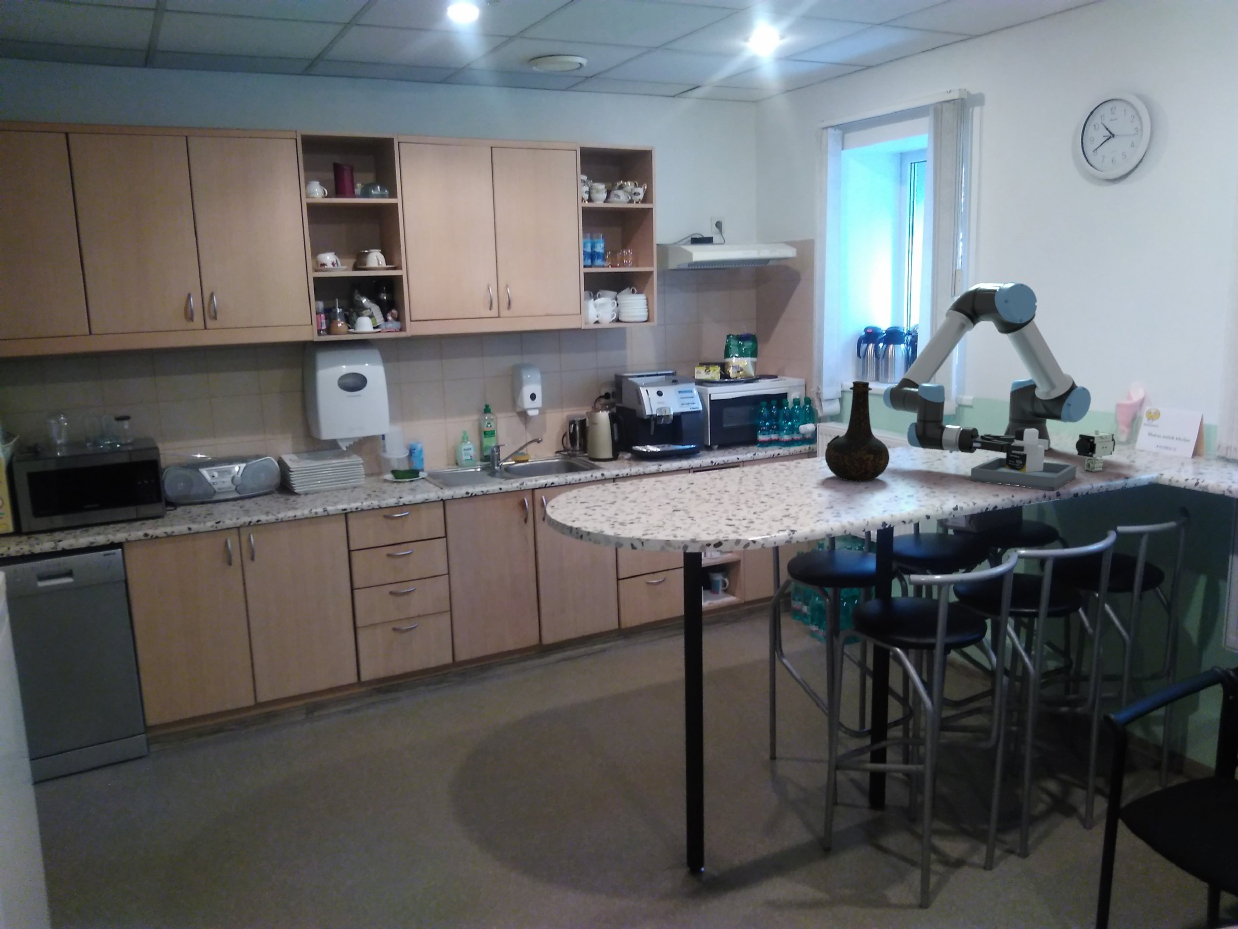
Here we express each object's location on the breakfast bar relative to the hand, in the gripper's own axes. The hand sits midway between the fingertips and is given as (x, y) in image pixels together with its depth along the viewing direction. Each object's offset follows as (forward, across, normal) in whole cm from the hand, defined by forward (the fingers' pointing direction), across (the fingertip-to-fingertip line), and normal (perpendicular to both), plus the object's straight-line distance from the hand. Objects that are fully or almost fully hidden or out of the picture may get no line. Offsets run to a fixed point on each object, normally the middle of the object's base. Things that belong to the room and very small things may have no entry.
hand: (1042, 447), depth 254 cm
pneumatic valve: (+9, -24, -10) cm, 27 cm away
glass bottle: (-42, +27, -10) cm, 51 cm away
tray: (-4, 0, -10) cm, 11 cm away
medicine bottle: (-4, 0, -7) cm, 8 cm away
